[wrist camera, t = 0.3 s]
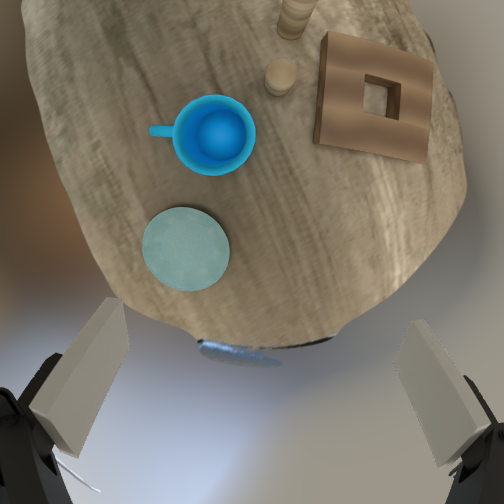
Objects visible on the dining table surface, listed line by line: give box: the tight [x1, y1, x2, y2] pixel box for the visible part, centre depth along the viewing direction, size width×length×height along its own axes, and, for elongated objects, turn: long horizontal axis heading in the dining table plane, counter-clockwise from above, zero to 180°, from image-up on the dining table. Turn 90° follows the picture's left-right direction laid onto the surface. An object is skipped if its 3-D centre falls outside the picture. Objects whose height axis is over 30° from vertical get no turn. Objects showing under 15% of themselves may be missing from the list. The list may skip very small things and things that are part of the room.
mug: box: [149, 95, 256, 176], centre depth 30 cm, size 12×8×8 cm
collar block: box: [313, 31, 433, 165], centre depth 30 cm, size 14×14×4 cm
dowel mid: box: [264, 58, 298, 96], centre depth 28 cm, size 3×3×7 cm
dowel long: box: [277, 0, 318, 40], centre depth 22 cm, size 3×3×14 cm
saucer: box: [142, 207, 230, 291], centre depth 39 cm, size 12×12×2 cm
